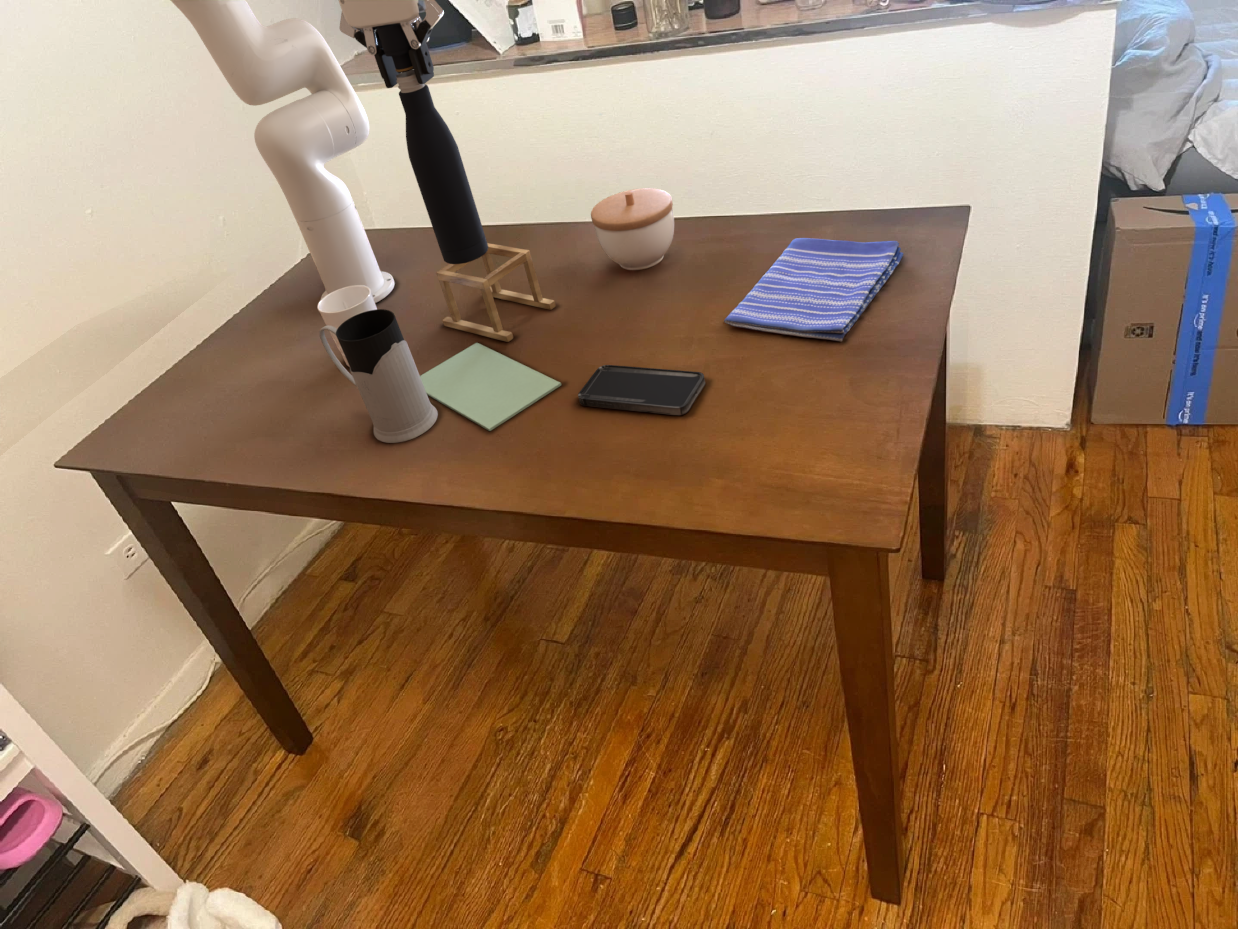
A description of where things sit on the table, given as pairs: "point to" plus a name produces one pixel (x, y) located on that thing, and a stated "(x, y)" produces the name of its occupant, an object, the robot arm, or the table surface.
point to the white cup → (345, 307)
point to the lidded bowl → (635, 227)
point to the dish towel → (817, 288)
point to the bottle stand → (491, 290)
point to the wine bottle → (435, 160)
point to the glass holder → (383, 375)
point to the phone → (642, 389)
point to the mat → (486, 385)
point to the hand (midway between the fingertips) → (410, 80)
